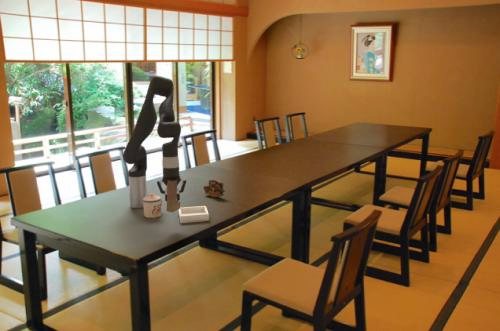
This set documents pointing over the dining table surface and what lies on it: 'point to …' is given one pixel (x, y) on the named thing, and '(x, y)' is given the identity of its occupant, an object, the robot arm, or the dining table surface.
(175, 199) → the wooden block
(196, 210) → the tray
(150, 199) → the teacup with lid
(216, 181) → the wooden carving
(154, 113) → the robot arm
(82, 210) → the dining table surface
